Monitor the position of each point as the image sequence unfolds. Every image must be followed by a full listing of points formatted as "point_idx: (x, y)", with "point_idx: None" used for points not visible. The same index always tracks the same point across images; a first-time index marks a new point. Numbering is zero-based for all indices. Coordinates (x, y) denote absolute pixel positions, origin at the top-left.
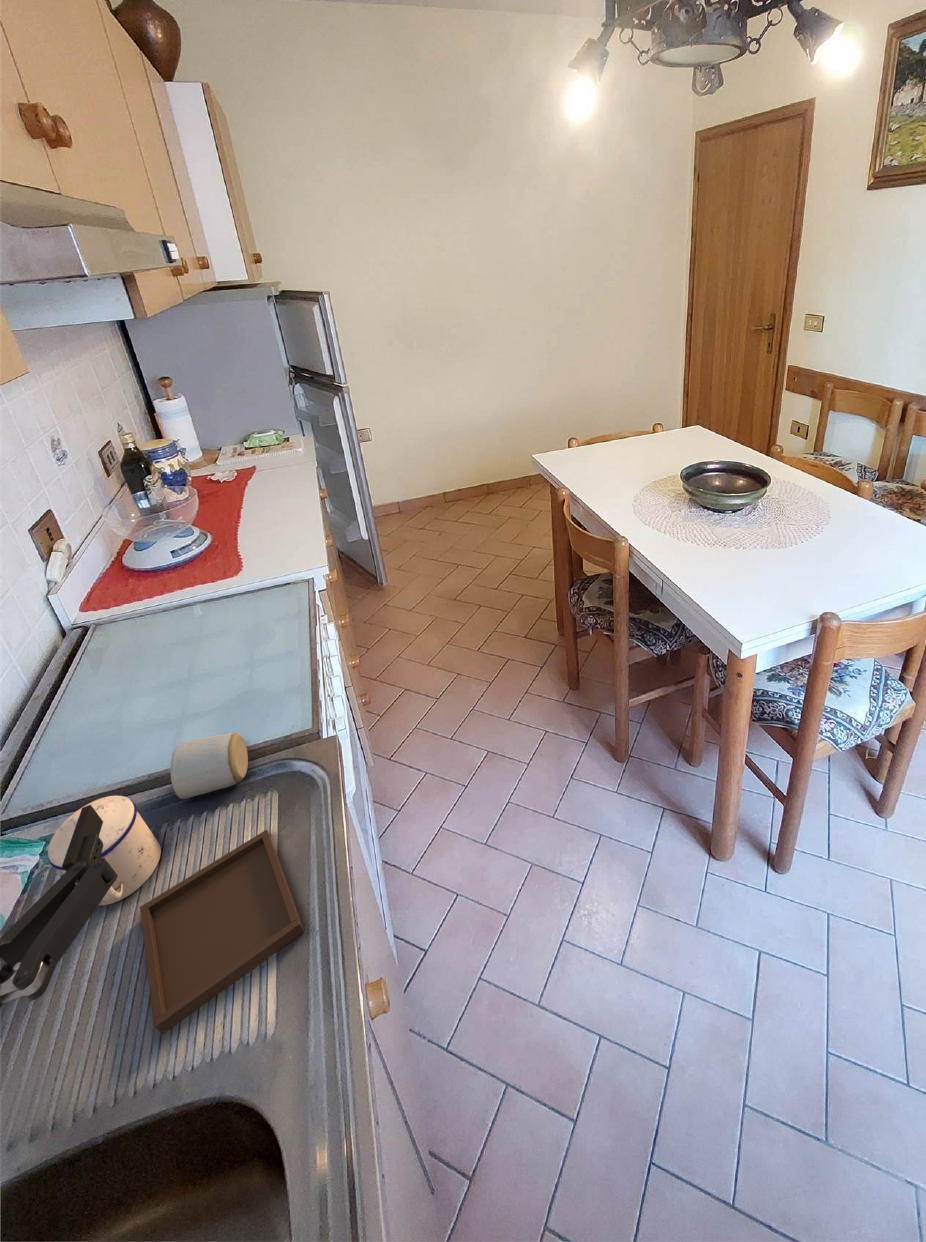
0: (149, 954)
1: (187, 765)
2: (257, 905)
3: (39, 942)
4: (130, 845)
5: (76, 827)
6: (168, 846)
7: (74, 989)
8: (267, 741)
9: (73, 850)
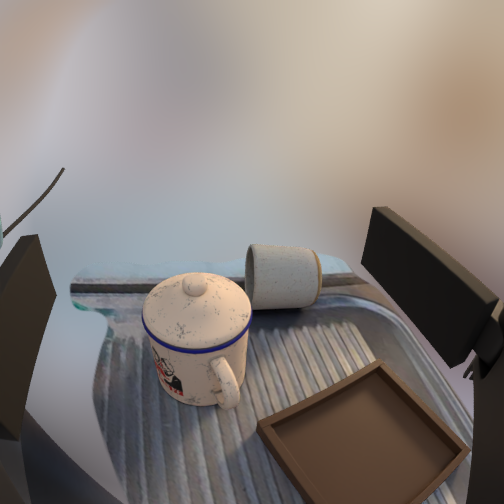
0: (304, 480)
1: (274, 266)
2: (405, 435)
3: None
4: (244, 342)
5: (410, 233)
6: (246, 356)
7: (195, 494)
8: None
9: (470, 274)
